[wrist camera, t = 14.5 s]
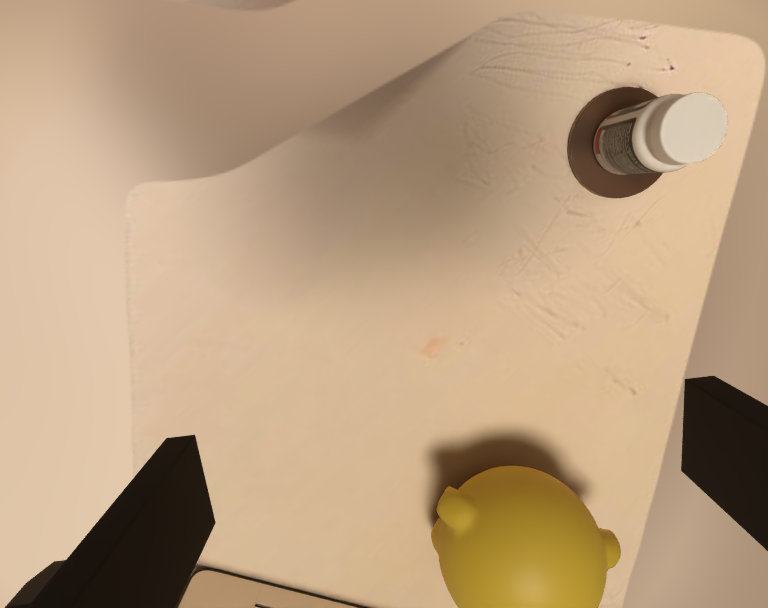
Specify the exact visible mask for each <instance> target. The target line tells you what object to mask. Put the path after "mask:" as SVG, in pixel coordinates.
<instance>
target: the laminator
mask: <svg viewBox="0 0 768 608" xmlns="http://www.w3.org/2000/svg"><path fill="white" fill-rule="evenodd" d="M175 608H365V607H361V606H357V605H353V604H349V603H345V602H341V601H338V600H334V599H330V598H326V597H322V596H318V595H314V594H310V593H306V592H302V591H298V590H294V589H290V588H286V587H282V586H278V585H274V584H271V583H267V582H263V581H259V580H255V579H251V578H247V577H243V576H239V575H235V574H231V573H227V572H223V571H219V570H215V569H208V568H205V569H200V570H198V571H196V572H194V573H193V574H192V575H191V577H190V578H189V580H188V582H187V584H186V586H185V588H184V590H183V593H182V595H181V597H180V599H179V601H178V603H177V605H176V607H175Z"/></svg>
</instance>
